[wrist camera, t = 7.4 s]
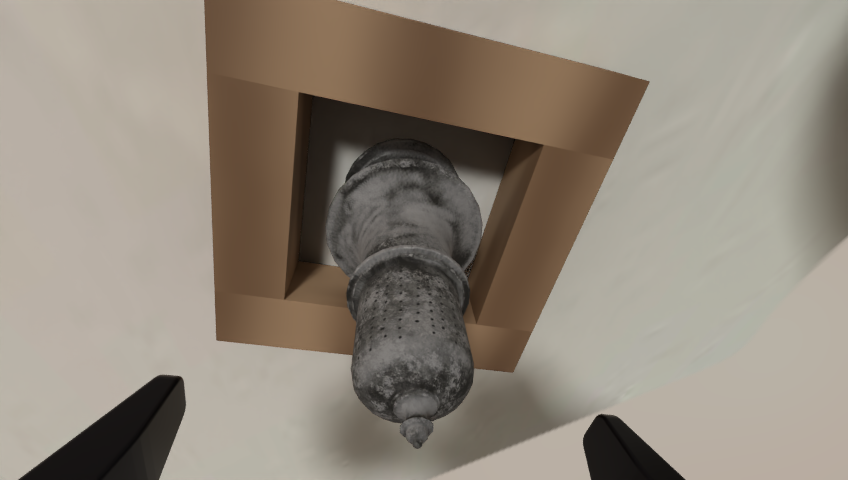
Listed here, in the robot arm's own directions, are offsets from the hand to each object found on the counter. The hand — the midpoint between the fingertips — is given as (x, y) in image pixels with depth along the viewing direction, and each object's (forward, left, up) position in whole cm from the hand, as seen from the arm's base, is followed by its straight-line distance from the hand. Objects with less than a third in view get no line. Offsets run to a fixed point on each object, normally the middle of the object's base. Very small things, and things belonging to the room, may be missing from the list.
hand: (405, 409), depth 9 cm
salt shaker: (0, 0, -11) cm, 11 cm away
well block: (0, 0, -11) cm, 11 cm away
